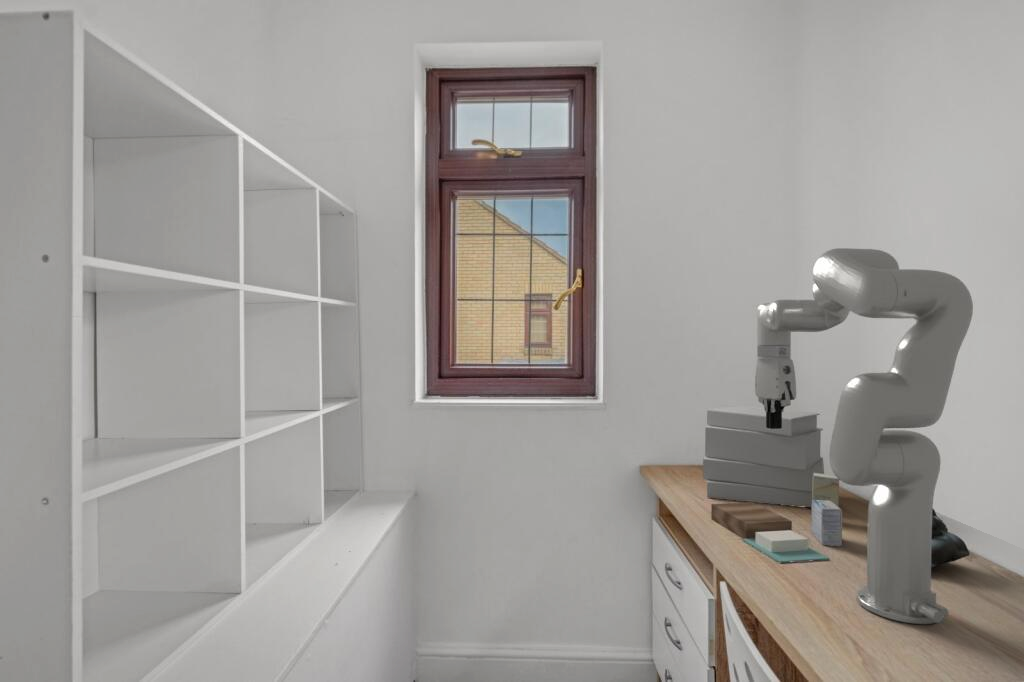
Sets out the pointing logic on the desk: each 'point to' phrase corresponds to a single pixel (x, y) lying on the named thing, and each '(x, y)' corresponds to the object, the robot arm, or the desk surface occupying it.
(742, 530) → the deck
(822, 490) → the skincare box
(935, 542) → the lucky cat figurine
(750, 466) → the book stack
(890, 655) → the desk surface
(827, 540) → the medicine box
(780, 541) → the white rectangular block
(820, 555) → the mat
